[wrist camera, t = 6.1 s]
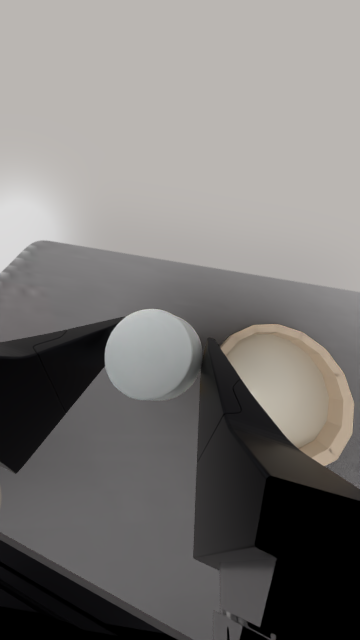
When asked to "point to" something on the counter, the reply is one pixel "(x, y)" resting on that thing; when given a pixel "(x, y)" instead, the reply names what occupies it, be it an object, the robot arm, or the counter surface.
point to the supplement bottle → (153, 355)
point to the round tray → (295, 387)
